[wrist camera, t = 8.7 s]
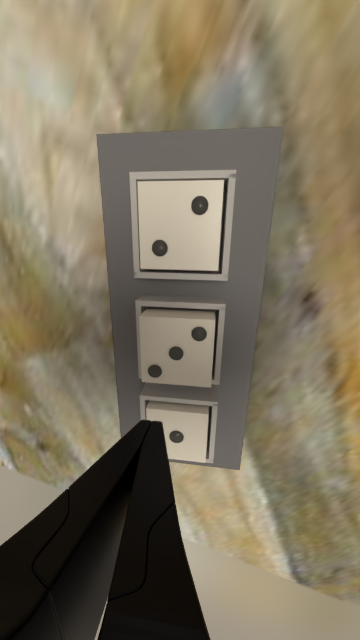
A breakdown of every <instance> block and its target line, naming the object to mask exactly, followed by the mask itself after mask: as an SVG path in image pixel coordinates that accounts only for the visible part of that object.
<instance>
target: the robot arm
mask: <svg viewBox="0 0 360 640" xmlns="http://www.w3.org/2000/svg"><path fill="white" fill-rule="evenodd" d="M107 598H108V601H107ZM106 601H107V602H108V603H107V605H106V609H105V614H104V617H103V622H102V626H101V629H100V633H99V636H98V640H210V637H209V634H208V630H207V627H206V624H205V620H204V617H203V613H202V610H201V606H200V603H199V599H198V596H197V592H196V588H195V585H194V581H193V578H192V574H191V571H190V568H189V564H188V561H187V557H186V552H185V549H184V545H183V541H182V537H181V531H180V526H179V521H178V516H177V509H176V505H175V497H174V491H173V485H172V479H171V472H170V466H169V460H168V454H167V447H166V441H165V435H164V429H163V423H162V422H161V421H151V420H140V421H139V422H138V423H137V424H136V425H135V426H134V427H133V428H132V429H131V430H130V431H129V432H127V433H126V434H125V435H124V436H123V437H122V438H121V439H120V440H119V441H118V442H117V443H116V444H115V445H114V446H112V447H111V448H110V449H109V450H108V451H107V452H106V453H105V454H104V455H103V456H102V457H101V458H100V459H99V460H97V461H96V462H95V463H94V464H93V465H92V466H91V467H90V468H89V469H88V470H87V471H86V472H85V473H84V474H82V475H81V476H80V477H79V478H78V479H77V480H76V481H75V482H74V483H73V484H72V485H71V486H70V487H69V489H66V490H65V491H64V492H63V493H62V494H61V495H60V496H59V497H58V498H57V499H55V500H54V501H53V502H52V503H51V504H50V505H49V506H48V507H47V508H45V509H44V510H43V511H42V512H41V513H40V514H39V515H37V516H36V517H35V518H34V519H33V520H32V521H30V522H29V523H28V524H27V525H25V526H24V527H23V528H22V529H21V530H19V531H18V532H17V533H16V534H14V535H13V536H12V537H11V538H9V539H8V540H7V541H6V542H5V543H3V544H2V545H1V546H0V640H94V639H95V636H96V632H97V629H98V626H99V623H100V620H101V616H102V614H103V611H104V607H105V604H106Z"/></svg>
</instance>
